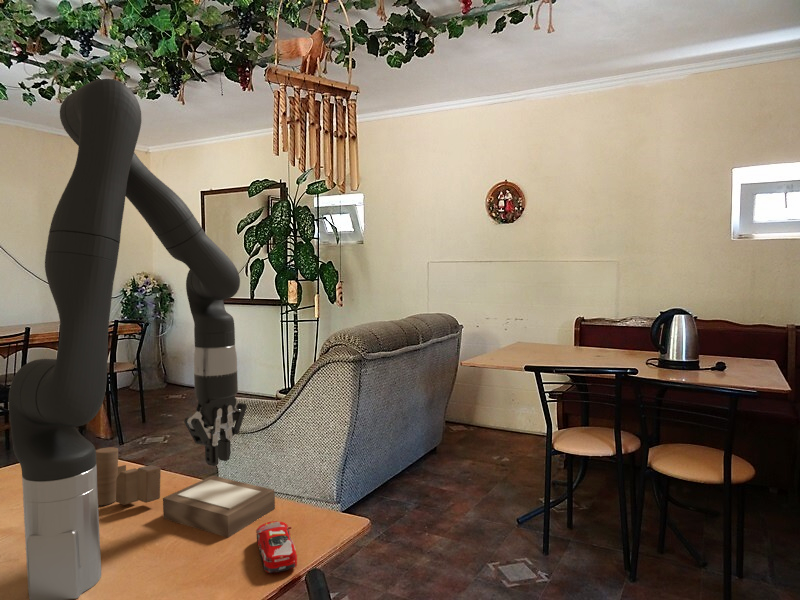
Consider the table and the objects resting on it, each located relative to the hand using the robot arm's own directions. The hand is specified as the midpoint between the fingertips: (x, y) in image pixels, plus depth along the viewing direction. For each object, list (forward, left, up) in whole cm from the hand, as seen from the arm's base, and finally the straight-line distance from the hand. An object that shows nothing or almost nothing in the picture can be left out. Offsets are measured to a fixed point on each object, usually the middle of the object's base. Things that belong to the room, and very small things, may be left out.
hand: (218, 461), depth 103 cm
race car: (-14, -9, -12) cm, 21 cm away
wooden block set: (+11, +20, -10) cm, 25 cm away
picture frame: (0, 0, -10) cm, 10 cm away
